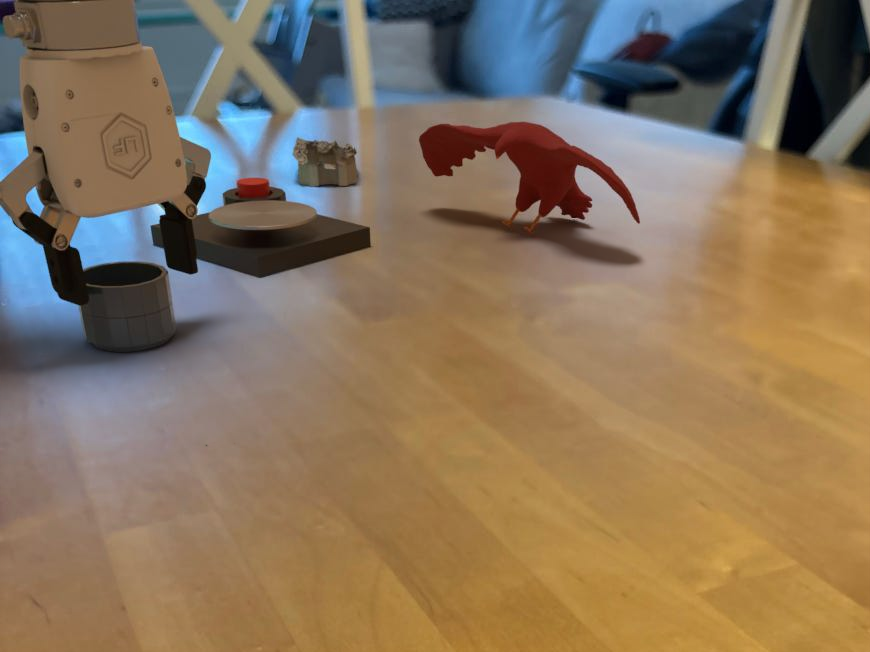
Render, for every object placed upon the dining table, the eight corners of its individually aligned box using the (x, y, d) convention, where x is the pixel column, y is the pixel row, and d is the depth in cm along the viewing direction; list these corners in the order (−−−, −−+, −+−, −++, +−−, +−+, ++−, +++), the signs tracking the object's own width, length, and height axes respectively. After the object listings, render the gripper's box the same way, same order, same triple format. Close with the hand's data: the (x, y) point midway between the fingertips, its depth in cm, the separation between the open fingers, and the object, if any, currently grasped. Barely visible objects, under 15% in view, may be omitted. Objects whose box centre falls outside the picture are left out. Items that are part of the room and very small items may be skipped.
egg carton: (357, 187, 130) (356, 150, 127) (293, 188, 129) (290, 150, 127) (358, 167, 138) (356, 132, 136) (297, 167, 138) (295, 132, 136)
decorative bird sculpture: (451, 243, 126) (379, 151, 113) (494, 175, 126) (427, 76, 114) (650, 300, 109) (591, 199, 97) (699, 221, 110) (646, 112, 98)
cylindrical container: (68, 339, 86) (55, 274, 83) (142, 318, 90) (132, 256, 87) (120, 360, 82) (107, 293, 80) (194, 337, 87) (185, 273, 84)
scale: (149, 244, 109) (144, 207, 107) (261, 218, 117) (257, 183, 115) (259, 278, 100) (255, 238, 98) (371, 247, 109) (369, 209, 107)
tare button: (231, 197, 112) (229, 181, 111) (256, 191, 114) (254, 175, 113) (252, 202, 110) (250, 186, 109) (276, 196, 112) (275, 180, 111)
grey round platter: (186, 216, 104) (186, 213, 103) (269, 198, 110) (269, 195, 110) (256, 236, 98) (256, 232, 98) (339, 215, 105) (338, 212, 104)
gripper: (-10, 45, 67) (55, 325, 77) (219, 20, 78) (251, 268, 87) (-70, 38, 71) (-1, 304, 81) (155, 15, 82) (192, 252, 91)
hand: (130, 285), depth 84 cm, fingers open, 9 cm apart
